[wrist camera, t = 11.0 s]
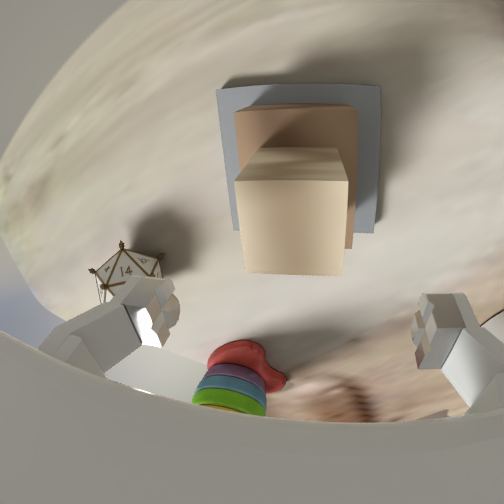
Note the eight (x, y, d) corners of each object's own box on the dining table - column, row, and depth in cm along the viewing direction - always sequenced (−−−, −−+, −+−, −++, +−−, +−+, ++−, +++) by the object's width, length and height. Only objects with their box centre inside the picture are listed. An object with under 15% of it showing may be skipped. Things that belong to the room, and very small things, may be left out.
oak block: (337, 147, 16) (348, 181, 11) (335, 218, 18) (341, 276, 13) (259, 148, 17) (233, 181, 12) (264, 216, 19) (245, 272, 14)
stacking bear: (291, 382, 39) (271, 499, 24) (232, 390, 43) (202, 491, 29) (255, 336, 35) (217, 476, 20) (191, 349, 39) (144, 463, 24)
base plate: (376, 85, 18) (380, 86, 17) (371, 226, 24) (373, 233, 23) (220, 89, 20) (215, 89, 19) (236, 223, 27) (233, 230, 26)
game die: (151, 233, 34) (98, 218, 24) (202, 279, 32) (157, 279, 22) (114, 290, 35) (58, 292, 25) (159, 337, 33) (107, 355, 23)
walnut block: (347, 103, 18) (357, 109, 14) (345, 216, 23) (351, 248, 19) (250, 105, 20) (233, 112, 16) (260, 214, 25) (248, 246, 20)
